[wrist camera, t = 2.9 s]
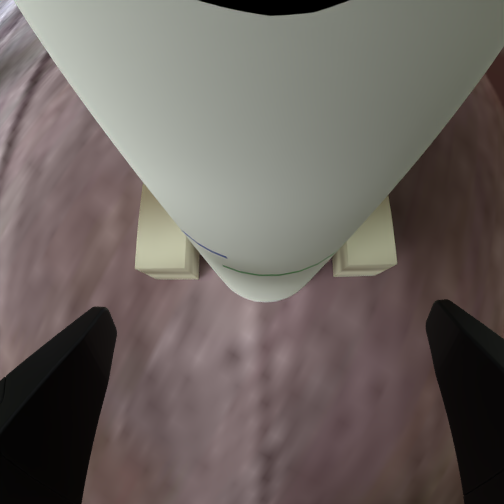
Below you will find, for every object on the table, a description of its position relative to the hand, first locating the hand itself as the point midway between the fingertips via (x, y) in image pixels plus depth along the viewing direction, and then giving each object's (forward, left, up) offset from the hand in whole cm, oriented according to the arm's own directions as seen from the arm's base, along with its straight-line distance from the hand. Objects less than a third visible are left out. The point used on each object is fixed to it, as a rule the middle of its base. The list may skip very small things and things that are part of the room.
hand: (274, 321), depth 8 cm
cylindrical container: (+2, -5, -13) cm, 14 cm away
